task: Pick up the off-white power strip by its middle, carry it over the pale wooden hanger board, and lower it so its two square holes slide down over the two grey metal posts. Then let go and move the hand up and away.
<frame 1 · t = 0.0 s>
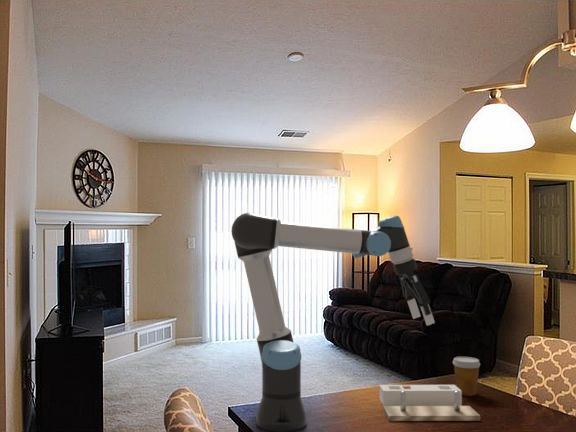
hand: (423, 320, 172), 28 cm above the table, tool tilted 20°, fingers open, 13 cm apart
hanger posts: (430, 415, 160), resting on hanger board
disposable coffee cup: (466, 393, 183), on the table
hanger board: (430, 415, 160), on the table
power strip: (419, 402, 173), on the table
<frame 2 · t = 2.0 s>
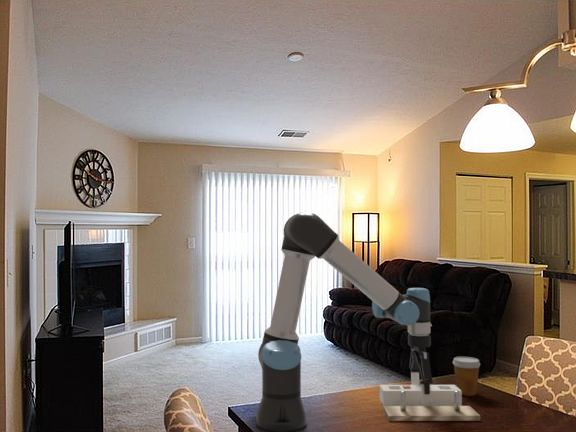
hand: (420, 397, 173), 2 cm above the table, tool pointing down, fingers open, 13 cm apart
nothing on the table moved.
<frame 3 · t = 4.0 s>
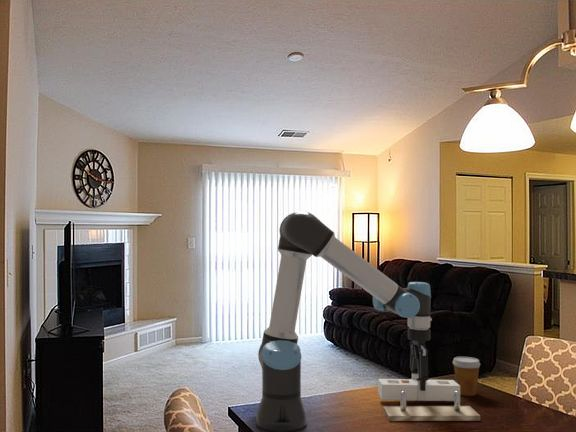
hand: (418, 396, 173), 2 cm above the table, tool pointing down, fingers closed on power strip, 7 cm apart
power strip: (418, 397, 173), point 2 cm above the table, touching gripper
everything else where it was.
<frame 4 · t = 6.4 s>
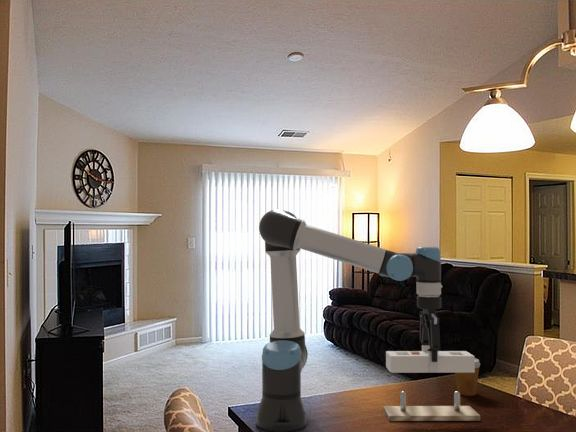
hand: (430, 368, 161), 14 cm above the table, tool pointing down, fingers closed on power strip, 7 cm apart
power strip: (429, 369, 161), point 14 cm above the table, touching gripper
everything else where it was.
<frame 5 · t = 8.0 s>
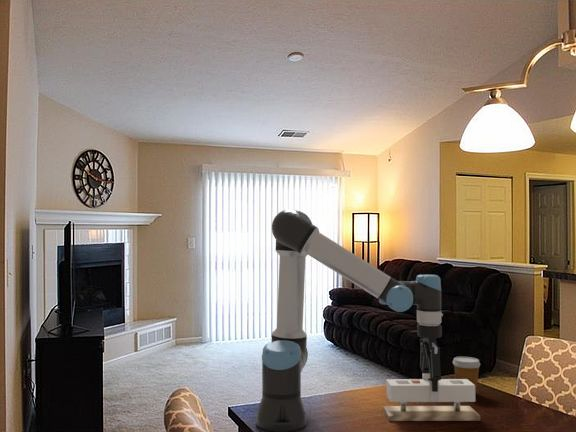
hand: (430, 397, 160), 6 cm above the table, tool pointing down, fingers closed on power strip, 7 cm apart
power strip: (430, 398, 160), point 5 cm above the table, touching gripper
everything else where it was.
when the fingers open (2 cm above the table, at t = 9.0 s): power strip stays where it is, resting on hanger board.
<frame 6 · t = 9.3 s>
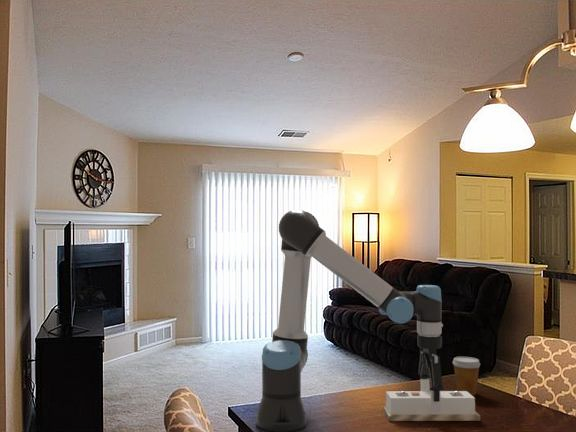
hand: (430, 405, 160), 3 cm above the table, tool pointing down, fingers open, 11 cm apart
power strip: (429, 410, 160), point 1 cm above the table, touching hanger board
everything else where it was.
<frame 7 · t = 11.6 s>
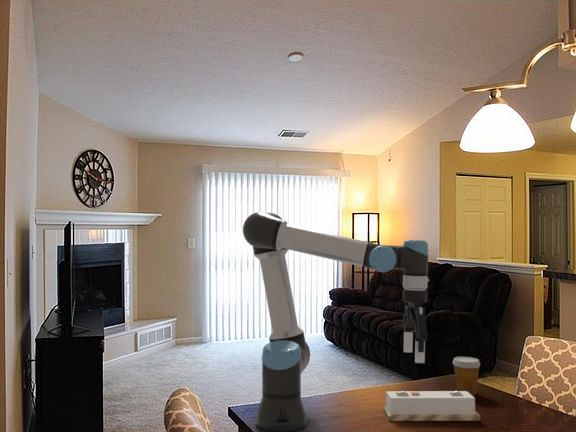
hand: (413, 357, 160), 18 cm above the table, tool pointing down, fingers open, 13 cm apart
nothing on the table moved.
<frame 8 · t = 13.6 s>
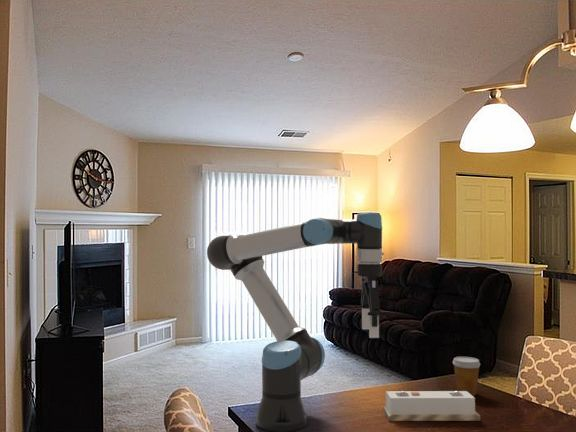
hand: (370, 333, 155), 27 cm above the table, tool pointing down, fingers open, 13 cm apart
nothing on the table moved.
at the end: power strip 0.2 cm off-centre on the hanger board, point 1.5 cm above the hanger board's base; power strip tilted 0°; the gripper is holding nothing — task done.
